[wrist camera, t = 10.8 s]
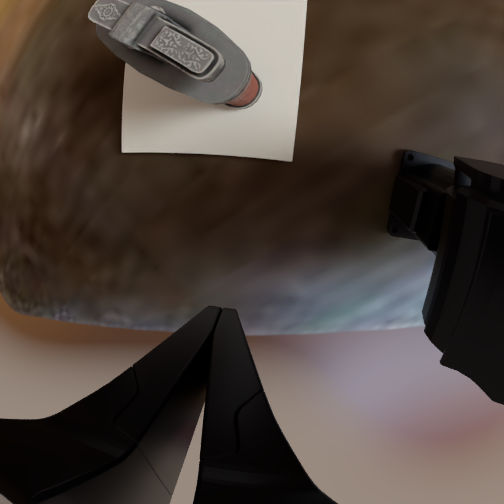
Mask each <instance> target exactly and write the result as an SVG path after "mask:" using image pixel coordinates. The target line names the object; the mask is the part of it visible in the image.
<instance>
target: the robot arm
mask: <svg viewBox="0 0 504 504" xmlns="http://www.w3.org/2000/svg"><path fill="white" fill-rule="evenodd" d="M409 154H411V159H410V160H408V155H409ZM389 209H390V211H391V213H390V217H389V221H388V225H387V231H388V233H389V234H390V235H391V236H395V237H402V238H408V239H414V240H420V241H421V242H422V243H423V244H424V245H425V246H426V248H427V249H428V250H430V251H432V252H433V253H434V254H435V255H436V259H435V263H434V268H433V272H432V276H431V280H430V284H429V288H428V291H427V295H426V298H425V302H424V306H423V310H422V314H423V319H424V324H425V329H424V332H425V334H426V335H427V337H428V338H429V340H430V341H431V342H432V343H433V344H434V345H435V346H436V347H437V348H438V349H439V350H440V351H441V352H442V353H443V356H442V358H441V360H440V363H441V365H443V366H446V367H448V368H451V369H454V370H457V371H459V372H460V373H462V374H464V375H465V376H467V377H469V378H470V379H471V380H472V381H474V382H475V383H476V384H477V385H478V386H479V387H480V388H481V389H482V390H483V391H484V392H485V393H486V395H487V396H488V397H489V398H490V399H491V400H492V401H494V402H497V403H500V404H503V405H504V165H502V164H497V163H492V162H487V161H482V160H476V159H470V158H464V157H457V156H454V163H452V162H449V161H446V160H443V159H439V158H436V157H433V156H430V155H426V154H423V153H419V152H416V151H412V150H405V151H404V152H403V155H402V160H401V166H400V171H399V175H397V176H396V178H395V183H394V188H393V193H392V198H391V202H390V207H389ZM393 227H396V229H395V230H394V231H392V228H393ZM204 402H205V408H204V418H203V428H202V438H201V450H200V462H199V472H198V480H197V486H196V491H195V496H194V501H193V504H338V503H336V502H335V501H333V500H332V499H331V498H330V497H328V496H327V495H326V494H325V493H323V492H322V491H321V490H320V489H319V488H318V487H317V486H316V485H315V484H314V483H313V481H312V480H311V479H310V477H309V476H308V474H307V473H306V472H305V470H304V468H303V467H302V465H301V463H300V462H299V460H298V459H297V457H296V455H295V454H294V452H293V450H292V448H291V447H290V445H289V443H288V441H287V440H286V438H285V436H284V434H283V433H282V431H281V429H280V427H279V425H278V423H277V421H276V419H275V417H274V415H273V412H272V410H271V407H270V405H269V402H268V400H267V397H266V394H265V392H264V389H263V386H262V384H261V380H260V378H259V375H258V372H257V369H256V366H255V364H254V360H253V358H252V355H251V352H250V349H249V346H248V343H247V340H246V337H245V334H244V331H243V328H242V325H241V322H240V319H239V316H238V313H237V310H235V309H230V308H223V309H222V308H221V307H215V306H208V307H206V308H205V309H204V310H202V311H201V312H200V313H199V314H197V315H196V316H195V317H194V318H192V319H191V320H190V321H189V322H187V323H186V324H185V325H183V326H182V327H181V328H180V329H178V330H177V331H176V332H175V333H173V334H172V335H171V336H170V337H168V338H167V339H166V340H165V341H163V342H162V343H161V344H159V345H158V346H157V347H156V348H154V349H153V350H152V351H150V352H149V353H148V354H146V355H145V356H144V357H143V358H141V359H140V360H139V361H137V362H136V363H135V364H134V365H133V367H130V368H128V369H127V370H126V371H124V372H123V373H122V374H120V375H119V376H118V377H116V378H115V379H113V380H112V381H111V382H110V383H108V384H106V385H105V386H103V387H101V388H100V389H99V390H97V391H95V392H94V393H92V394H90V395H88V396H87V397H85V398H83V399H82V400H80V401H78V402H76V403H75V404H73V405H71V406H69V407H68V408H66V409H64V410H62V411H61V412H59V413H57V414H55V415H52V416H50V417H46V418H42V419H31V420H29V419H26V420H25V419H0V504H169V503H170V501H171V498H172V495H173V492H174V489H175V486H176V483H177V480H178V477H179V474H180V472H181V469H182V466H183V463H184V460H185V457H186V454H187V451H188V448H189V445H190V442H191V440H192V437H193V434H194V431H195V428H196V425H197V422H198V419H199V416H200V413H201V411H202V408H203V405H204Z"/></svg>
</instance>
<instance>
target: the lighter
mask: <svg viewBox="0 0 504 504" xmlns="http://www.w3.org/2000/svg"><path fill="white" fill-rule="evenodd" d="M88 17H89V19H90V20H91V21H93V22H95V23H97V26H96V34H97V36H98V37H99V39H100V40H101V41H102V42H103V43H104V44H105V45H106V46H107V47H108V48H109V49H110V50H111V51H112V52H113V53H114V54H115V55H116V56H117V57H119V58H120V59H122V60H123V61H124V62H126V63H127V64H128V65H130V66H131V67H133V68H134V69H135V70H137V71H138V72H139V73H141V74H143V75H145V76H147V77H149V78H151V79H153V80H154V81H156V82H158V83H160V84H162V85H164V86H166V87H167V88H169V89H172V90H174V91H177V92H179V93H182V94H184V95H187V96H189V97H191V98H194V99H196V100H199V101H201V102H204V103H209V104H214V105H217V104H224V105H226V106H228V107H231V108H234V109H239V110H240V109H246V108H249V107H251V106H253V105H254V104H255V103H256V102H257V101H258V100H259V98H260V96H261V94H262V89H263V88H262V82H261V81H260V79H259V77H258V76H257V75H256V74H255V73H254V72H253V70H252V69H251V63H250V61H249V59H248V58H247V56H246V54H245V53H244V51H243V50H242V49H241V48H240V47H238V46H237V45H236V44H235V43H234V42H233V41H232V40H231V39H230V38H229V37H228V36H227V35H226V34H225V33H223V32H222V31H221V30H220V29H219V28H218V27H216V26H215V25H213V24H212V23H210V22H209V21H207V20H206V19H204V18H203V17H201V16H200V15H198V14H196V13H195V12H193V11H191V10H190V9H188V8H185V7H183V6H180V5H177V4H175V3H172V2H169V1H166V0H97V1H96V3H95V4H94V5H93V7H92V8H91V10H90V11H89V15H88Z"/></svg>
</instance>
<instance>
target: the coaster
mask: <svg viewBox="0 0 504 504" xmlns="http://www.w3.org/2000/svg"><path fill="white" fill-rule="evenodd" d="M166 1H169V2H172V3H175V4H177V5H180V6H183V7H185V8H188V9H190V10H191V11H193V12H195V13H196V14H198V15H200V16H201V17H203V18H204V19H206V20H207V21H209V22H210V23H212V24H213V25H215V26H216V27H218V28H219V29H220V30H221V31H222V32H223V33H225V34H226V35H227V36H228V37H229V38H230V39H231V40H232V41H233V42H234V43H235V44H236V45H237V46H238V47H240V48H241V49H242V50H243V51H244V53H245V54H246V56H247V58H248V59H249V61H250V63H251V69H252V70H253V72H254V73H255V74H256V75H257V76H258V77H259V79H260V81H261V82H262V88H263V89H262V94H261V96H260V98H259V100H258V101H257V102H256V103H255V104H254V105H253V106H251V107H249V108H246V109H240V110H239V109H234V108H231V107H228V106H226V105H224V104H217V105H214V104H209V103H204V102H201V101H199V100H196V99H194V98H191V97H189V96H187V95H184V94H182V93H179V92H177V91H174V90H172V89H169V88H167V87H166V86H164V85H162V84H160V83H158V82H156V81H154V80H153V79H151V78H149V77H147V76H145V75H143V74H141V73H139V72H138V71H137V70H135V69H134V68H133V67H131V66H130V65H128V64H127V63H126V64H125V75H124V88H123V106H122V153H128V152H160V153H194V154H213V155H228V156H241V157H253V158H263V159H272V160H281V161H290V162H292V159H293V150H294V141H295V132H296V122H297V113H298V103H299V93H300V82H301V71H302V60H303V48H304V35H305V22H306V7H307V0H166Z"/></svg>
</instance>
